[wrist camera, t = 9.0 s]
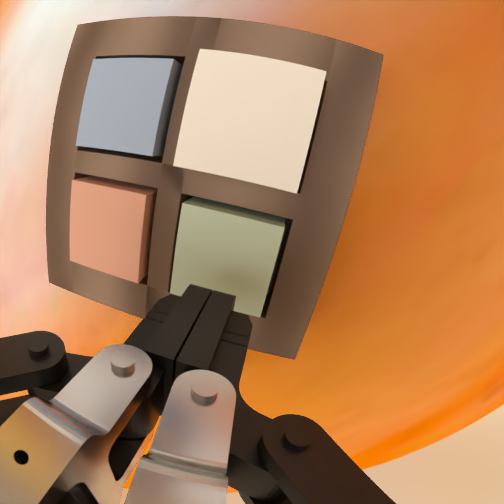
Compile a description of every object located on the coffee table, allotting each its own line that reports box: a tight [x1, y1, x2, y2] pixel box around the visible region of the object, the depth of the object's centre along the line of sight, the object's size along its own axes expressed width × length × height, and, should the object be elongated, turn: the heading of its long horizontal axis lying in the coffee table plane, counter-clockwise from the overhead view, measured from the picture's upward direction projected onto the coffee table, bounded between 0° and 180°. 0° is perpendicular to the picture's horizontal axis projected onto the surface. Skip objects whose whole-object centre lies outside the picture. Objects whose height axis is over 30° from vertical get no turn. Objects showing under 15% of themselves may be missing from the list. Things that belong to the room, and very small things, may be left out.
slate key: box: [76, 58, 183, 156], centre depth 13 cm, size 5×5×2 cm
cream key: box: [173, 49, 327, 194], centre depth 11 cm, size 5×5×2 cm
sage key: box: [170, 196, 285, 317], centre depth 15 cm, size 5×5×2 cm
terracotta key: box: [70, 175, 158, 283], centre depth 15 cm, size 5×5×2 cm
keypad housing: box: [46, 16, 383, 359], centre depth 15 cm, size 16×16×4 cm
